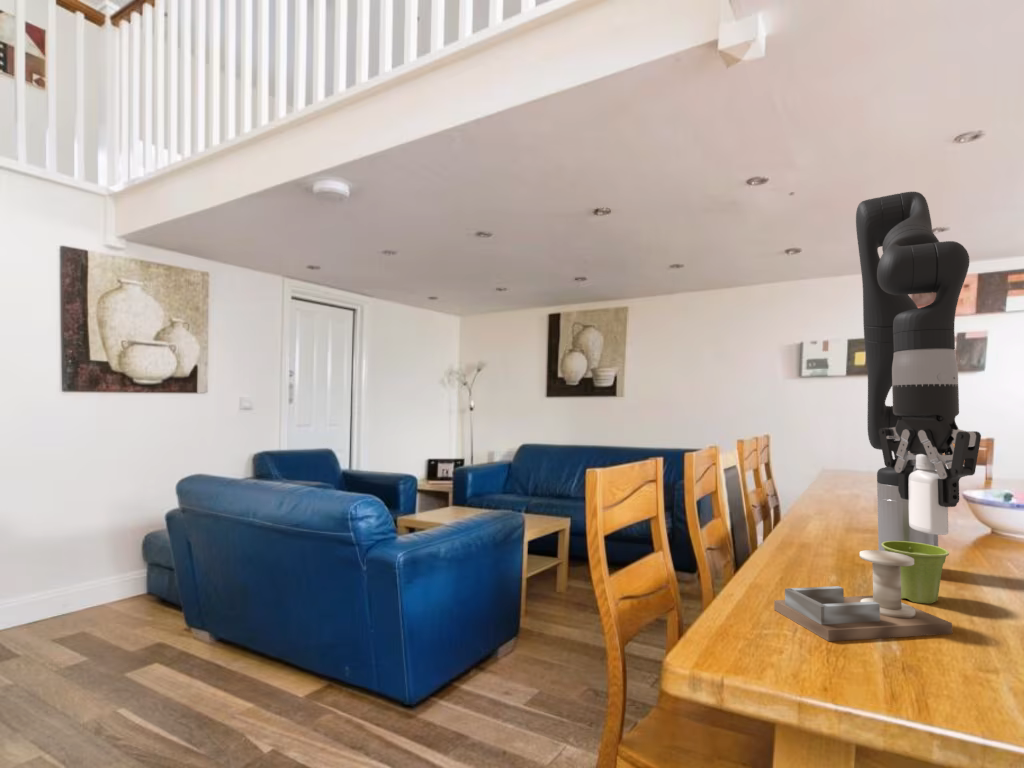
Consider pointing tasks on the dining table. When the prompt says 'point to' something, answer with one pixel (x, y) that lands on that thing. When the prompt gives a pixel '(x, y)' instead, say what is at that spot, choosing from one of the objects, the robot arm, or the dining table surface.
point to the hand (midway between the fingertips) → (927, 502)
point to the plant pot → (919, 570)
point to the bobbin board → (862, 606)
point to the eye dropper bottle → (926, 499)
